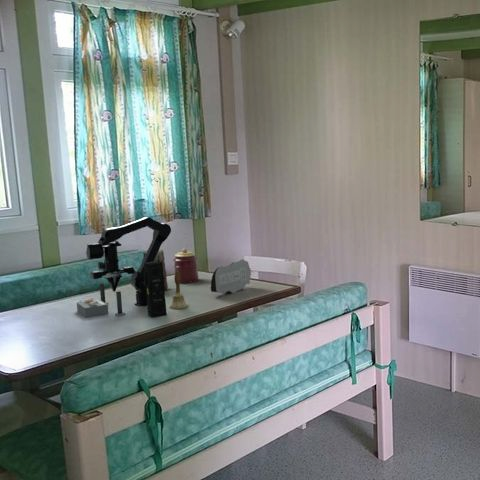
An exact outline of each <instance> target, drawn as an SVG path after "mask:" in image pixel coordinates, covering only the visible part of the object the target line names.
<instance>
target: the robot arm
mask: <svg viewBox="0 0 480 480" xmlns="http://www.w3.org/2000/svg"><path fill="white" fill-rule="evenodd" d="M146 227H147V228H149V229H151V230H153V233H152V240H151V243H150V245H149V247H148V249H147V251H146V252H147V253H146V255H145V257H144V256H143V257H144V260H143V262H142V261H141V264H140V266H139V268H138V269H137V270H136V269H135V268H134V267H133V266H130V265H128V266H123V267H122V268H121V269H120V268H119V262H120V260H119V255H118V247H122V244H121V243H120V242H119V241H118V240H120V239H121V238H122V237H123V236H125V235H128V234H131V233H132V232H135V231H138V230H141V229H143V228H146ZM171 232H172V228H171V226H170V225H169V224H168V223H164V222H160V221H157V220H155V219H152V218H151V217H149V216H144V217H142V218H140V219H138V220H134V221H132V222H129V223H126V224H123V225H121V226H115V227H107V228H105V229H103V230H102V231H101V236H100V238H99V240H97V242H96V243H88V244H86V251H85V254H86V259H87V260H88V261H90V260H98V259H99V260H100V259H102V258H103V257H104V260H103V261H98V262H97V268H98V270H91V271H90V278H91V279H93V280H99V279H102V278H104V279H105V280H107V281H108V283H109V286H110V287H111V290H112V292H115V293H116V292H117V291H116V290H117V287H118V284H119V282H120V280H121V278H122V277H123V278H124V276H123V275H122V274H125V273H126V274H127V275H131V276H129V278H130V285H131V287H133V288H134V289H135V300H136V301H135V302H136V303H134V305H135V306H144V307H145V306H146V307H147V294H146V286H145V285H144V272H145V269H144V263H146V262H154V260H155V257H156V255H157V253H158V251H159V250H161V249H160V248H161V246H162V245H163V243H164V242H165V241H167V239H168V237H169V236H170V234H171ZM101 270H102V271H101Z"/></svg>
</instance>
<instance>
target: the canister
mask: <svg viewBox="0 0 480 480" xmlns="http://www.w3.org/2000/svg"><path fill="white" fill-rule="evenodd" d="M174 257H175V258H173V259H172V261H173V262H174V263H173V264H174V265H173V270H174V271H173V272H174V275H175V273H176V271H179V274H180V282H187V283H191V282H190V281H194V282H196V281H195V280H197V279H198V280H199V270H198V262H197V260H198V257H197V256H196V253H194V252H193V251H188V249H187V248H182V251H179V252H176V254H174ZM174 279H175V276H174ZM198 280H197V281H198Z"/></svg>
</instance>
